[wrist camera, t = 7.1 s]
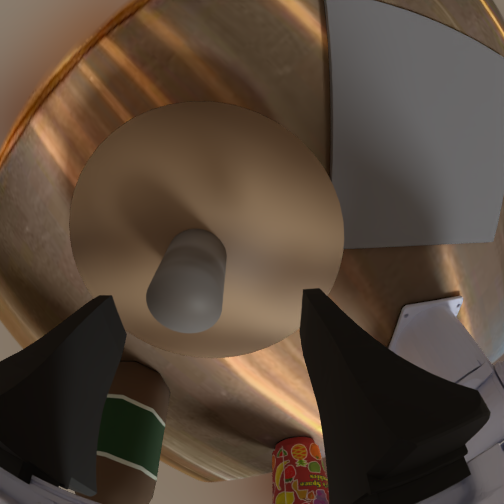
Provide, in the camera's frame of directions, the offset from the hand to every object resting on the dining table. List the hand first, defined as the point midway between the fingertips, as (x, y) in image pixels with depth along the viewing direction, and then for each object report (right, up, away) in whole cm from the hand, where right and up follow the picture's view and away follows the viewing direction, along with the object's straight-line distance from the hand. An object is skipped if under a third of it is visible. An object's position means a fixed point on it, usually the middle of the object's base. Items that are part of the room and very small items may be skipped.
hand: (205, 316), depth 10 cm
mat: (+16, +11, +5) cm, 20 cm away
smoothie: (+8, -26, +24) cm, 36 cm away
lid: (-1, +2, +5) cm, 5 cm away
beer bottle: (-11, -11, +16) cm, 22 cm away
